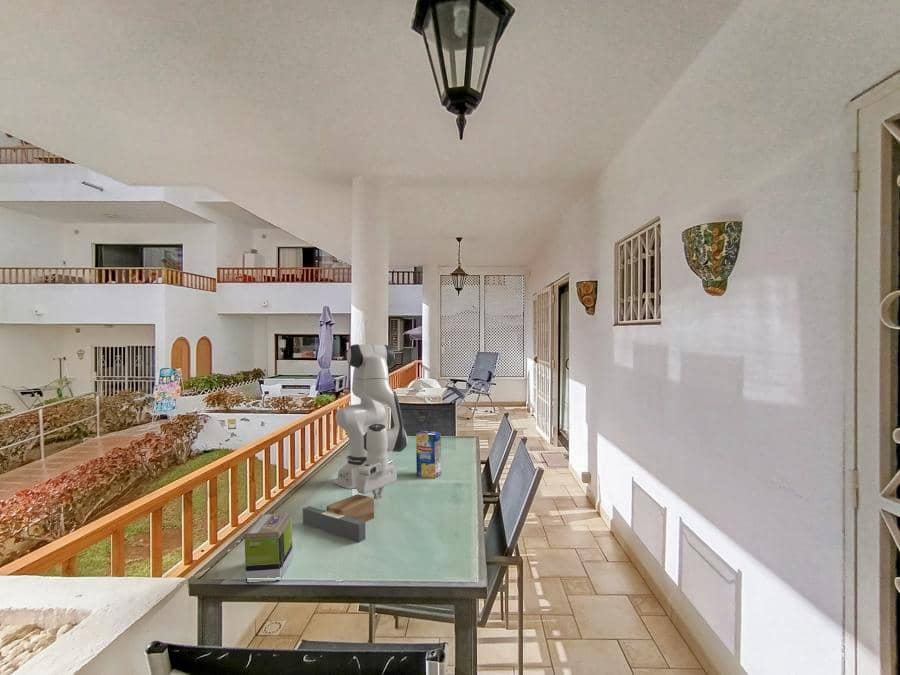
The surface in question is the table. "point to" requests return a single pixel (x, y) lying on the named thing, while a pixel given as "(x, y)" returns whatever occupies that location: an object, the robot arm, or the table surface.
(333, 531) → the stop board
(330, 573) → the table surface
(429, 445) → the beverage box
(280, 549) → the tea box
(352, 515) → the walnut block
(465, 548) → the table surface
